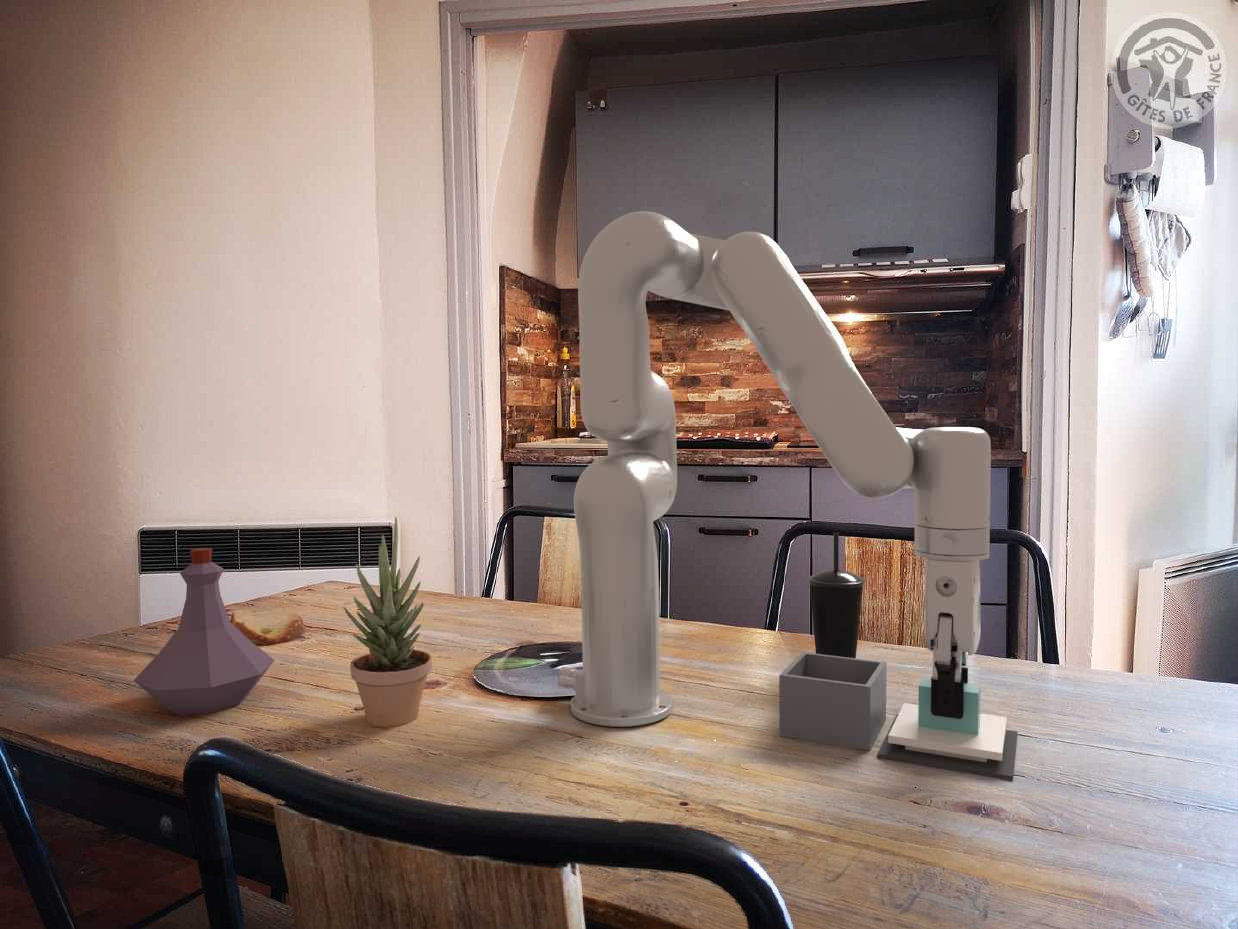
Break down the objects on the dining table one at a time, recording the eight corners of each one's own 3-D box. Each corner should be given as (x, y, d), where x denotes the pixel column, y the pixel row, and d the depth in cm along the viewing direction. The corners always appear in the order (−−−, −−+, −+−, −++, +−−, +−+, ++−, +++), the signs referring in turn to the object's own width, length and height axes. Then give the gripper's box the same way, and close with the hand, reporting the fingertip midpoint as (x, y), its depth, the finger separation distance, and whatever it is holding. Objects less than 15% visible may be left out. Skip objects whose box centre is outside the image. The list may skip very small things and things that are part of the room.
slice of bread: (244, 619, 156) (243, 599, 156) (334, 622, 153) (333, 601, 153) (177, 645, 139) (176, 622, 138) (278, 649, 135) (277, 626, 135)
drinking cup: (867, 687, 112) (867, 537, 111) (808, 684, 114) (808, 536, 112) (862, 669, 119) (862, 529, 118) (807, 667, 121) (807, 528, 120)
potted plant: (403, 737, 97) (397, 523, 95) (335, 727, 100) (328, 520, 99) (450, 708, 106) (445, 512, 105) (386, 700, 109) (380, 510, 108)
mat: (877, 757, 89) (877, 753, 89) (896, 717, 101) (896, 714, 101) (1012, 780, 83) (1012, 776, 83) (1017, 734, 95) (1017, 731, 95)
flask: (302, 687, 115) (297, 541, 114) (214, 731, 99) (207, 562, 98) (202, 678, 120) (196, 538, 118) (103, 719, 104) (94, 558, 103)
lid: (888, 752, 90) (888, 693, 89) (904, 718, 99) (904, 665, 99) (1001, 770, 85) (1002, 709, 84) (1006, 733, 94) (1007, 677, 94)
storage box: (779, 735, 96) (779, 675, 95) (802, 708, 104) (802, 652, 104) (870, 750, 91) (870, 687, 91) (886, 720, 100) (886, 662, 100)
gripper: (983, 556, 82) (981, 742, 83) (994, 533, 97) (991, 690, 98) (902, 551, 85) (901, 729, 86) (924, 530, 100) (923, 682, 101)
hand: (949, 707), depth 92 cm, fingers open, 4 cm apart
